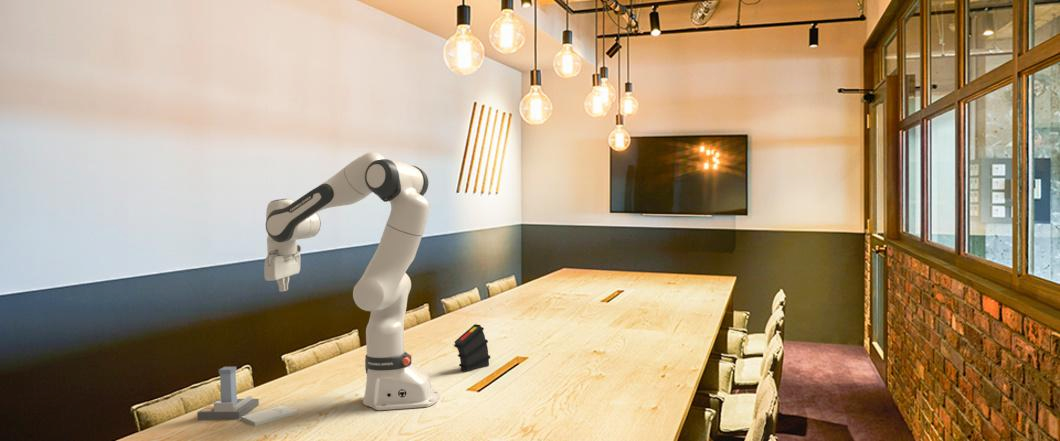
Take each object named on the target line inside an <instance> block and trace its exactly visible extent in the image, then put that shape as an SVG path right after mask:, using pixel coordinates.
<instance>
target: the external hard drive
mask: <svg viewBox="0 0 1060 441" xmlns="http://www.w3.org/2000/svg"><path fill="white" fill-rule="evenodd" d="M297 411H298V410H297V409H294V408H291V407H288V406H286V405H278V406H275V407H271V408H267V409H264V410H260V411H256V412H252V413H247V414H246V415H244V416H241V417H240V421H242V420H243V421H242V422H245V423H246V424H250V425H253V426H254V427H256V426H259V425H263V424H266V423H269V422H273V421H276V420H280V419H283V418H286V417H290V416H293V415H297V414H298V412H297Z"/></svg>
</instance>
